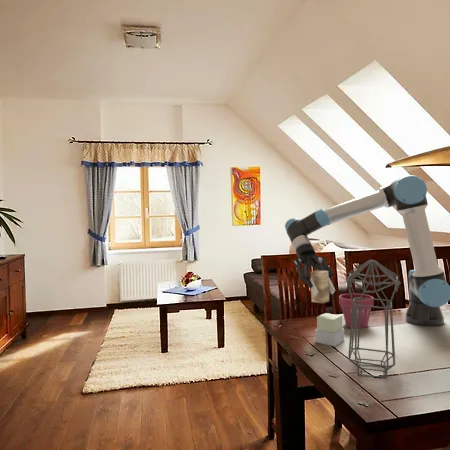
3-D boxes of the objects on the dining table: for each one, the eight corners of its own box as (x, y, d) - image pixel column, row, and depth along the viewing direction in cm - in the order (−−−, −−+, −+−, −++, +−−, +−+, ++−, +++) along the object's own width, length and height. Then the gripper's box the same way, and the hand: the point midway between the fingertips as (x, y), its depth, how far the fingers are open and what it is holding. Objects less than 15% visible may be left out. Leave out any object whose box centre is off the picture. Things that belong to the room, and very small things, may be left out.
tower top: (342, 328, 147) (342, 315, 146) (333, 332, 142) (333, 319, 141) (326, 325, 151) (325, 312, 151) (317, 329, 146) (316, 316, 146)
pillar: (329, 300, 151) (328, 271, 150) (322, 303, 147) (322, 272, 147) (318, 299, 154) (317, 270, 154) (311, 301, 151) (310, 271, 150)
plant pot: (374, 322, 170) (373, 293, 170) (374, 331, 157) (373, 300, 157) (341, 319, 175) (340, 292, 175) (338, 328, 162) (337, 299, 162)
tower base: (344, 341, 147) (343, 328, 147) (334, 346, 141) (334, 333, 141) (325, 337, 152) (325, 324, 152) (315, 342, 146) (315, 329, 146)
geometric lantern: (347, 359, 128) (347, 256, 127) (398, 366, 122) (399, 258, 121) (343, 378, 113) (343, 262, 112) (401, 386, 107) (401, 264, 106)
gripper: (321, 252, 168) (343, 296, 152) (280, 255, 162) (299, 300, 147) (327, 241, 162) (350, 285, 147) (285, 243, 157) (305, 289, 142)
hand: (324, 293), depth 147 cm, fingers closed on pillar, 7 cm apart
